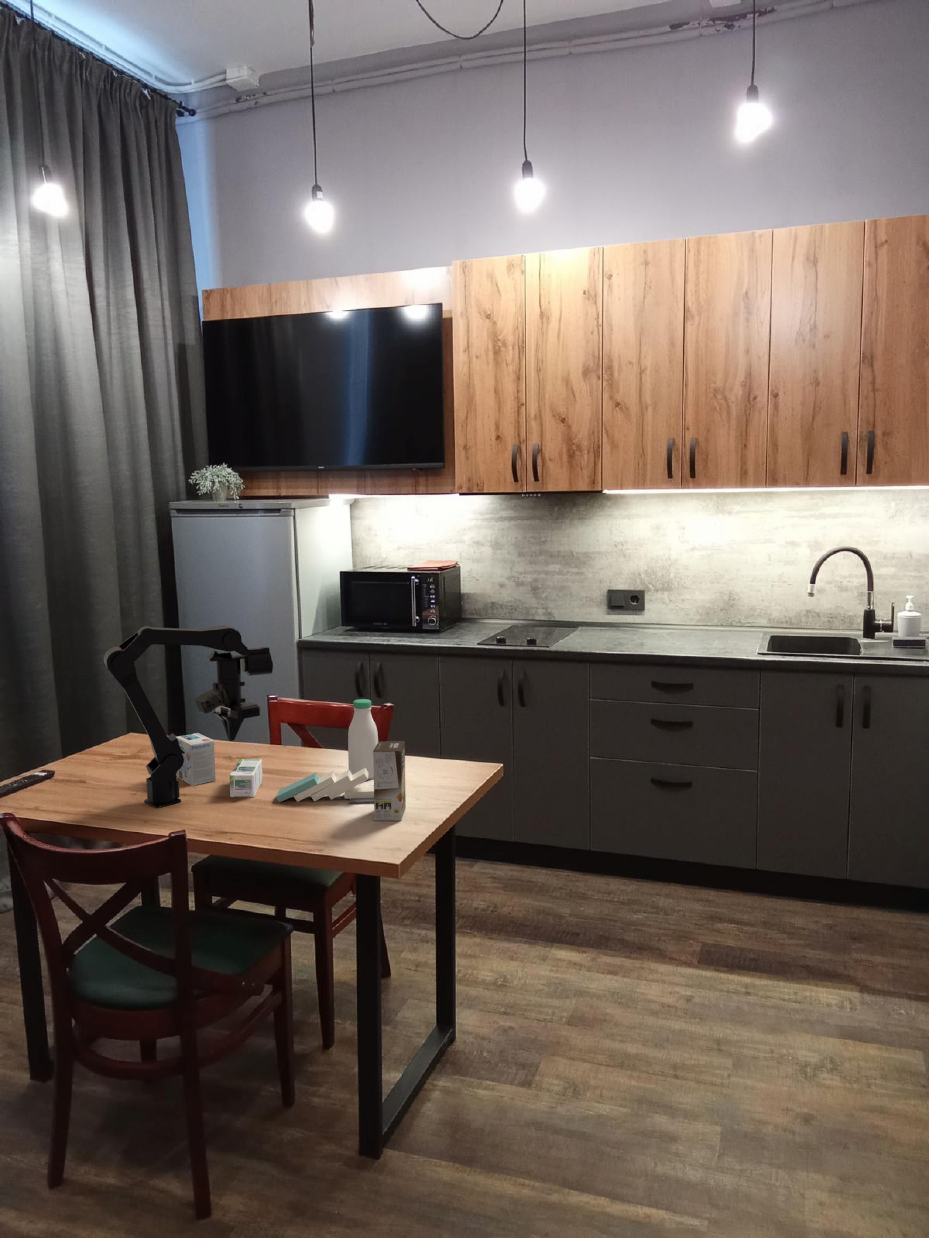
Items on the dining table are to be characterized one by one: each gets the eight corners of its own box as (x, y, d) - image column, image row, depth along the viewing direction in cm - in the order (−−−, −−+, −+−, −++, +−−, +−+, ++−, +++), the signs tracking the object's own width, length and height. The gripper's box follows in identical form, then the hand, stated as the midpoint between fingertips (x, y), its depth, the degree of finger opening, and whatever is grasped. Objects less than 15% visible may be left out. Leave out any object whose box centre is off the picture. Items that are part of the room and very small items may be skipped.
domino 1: (276, 796, 225) (314, 778, 225) (279, 790, 230) (316, 772, 230) (279, 802, 225) (317, 784, 225) (282, 795, 230) (319, 778, 230)
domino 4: (327, 794, 226) (364, 773, 226) (329, 787, 231) (365, 767, 231) (331, 799, 226) (367, 779, 226) (332, 793, 231) (368, 773, 231)
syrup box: (262, 758, 243) (253, 773, 228) (262, 780, 243) (253, 797, 229) (239, 758, 242) (228, 774, 228) (240, 781, 243) (229, 798, 229)
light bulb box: (175, 776, 247) (173, 736, 246) (200, 772, 251) (198, 732, 250) (191, 786, 239) (189, 744, 237) (217, 781, 243) (215, 740, 241)
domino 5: (344, 792, 226) (386, 790, 227) (345, 785, 231) (387, 784, 231) (344, 798, 226) (386, 797, 227) (346, 792, 231) (387, 791, 232)
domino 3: (310, 795, 225) (347, 775, 225) (313, 789, 230) (348, 769, 230) (314, 801, 226) (351, 781, 226) (316, 794, 231) (352, 775, 230)
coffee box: (402, 821, 212) (401, 751, 210) (373, 821, 212) (372, 751, 210) (406, 807, 221) (405, 740, 219) (378, 807, 221) (377, 740, 219)
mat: (349, 803, 224) (349, 801, 224) (351, 790, 234) (351, 788, 234) (392, 802, 224) (392, 800, 224) (392, 789, 234) (392, 787, 234)
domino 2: (294, 796, 225) (331, 776, 225) (296, 789, 230) (333, 770, 230) (297, 801, 226) (334, 782, 225) (299, 795, 230) (336, 776, 230)
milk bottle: (384, 777, 245) (382, 701, 242) (357, 782, 241) (355, 705, 238) (369, 770, 251) (368, 696, 249) (343, 775, 247) (341, 699, 244)
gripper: (179, 677, 231) (182, 739, 233) (218, 688, 217) (221, 754, 219) (220, 671, 238) (223, 731, 240) (260, 681, 225) (262, 745, 227)
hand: (231, 740), depth 232 cm, fingers closed
